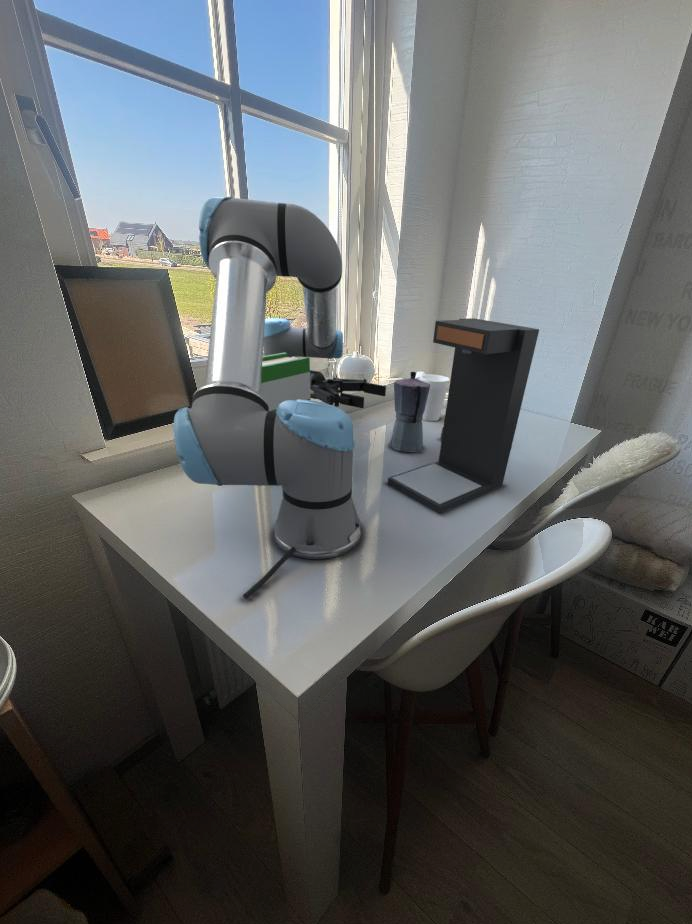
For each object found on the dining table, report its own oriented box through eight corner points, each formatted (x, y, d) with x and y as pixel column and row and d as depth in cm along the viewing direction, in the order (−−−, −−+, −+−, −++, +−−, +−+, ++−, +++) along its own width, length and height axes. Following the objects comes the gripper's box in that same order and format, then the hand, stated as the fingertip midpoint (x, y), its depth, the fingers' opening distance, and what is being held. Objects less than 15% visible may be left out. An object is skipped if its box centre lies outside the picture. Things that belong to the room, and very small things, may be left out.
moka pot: (416, 437, 122) (424, 366, 112) (432, 459, 109) (443, 381, 99) (384, 438, 120) (389, 365, 109) (397, 460, 107) (404, 380, 97)
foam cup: (411, 413, 141) (415, 374, 134) (436, 413, 144) (441, 374, 137) (422, 423, 133) (426, 381, 127) (448, 422, 136) (454, 381, 129)
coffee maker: (439, 513, 85) (468, 334, 68) (387, 483, 95) (400, 320, 78) (502, 485, 98) (539, 329, 81) (450, 462, 108) (473, 318, 91)
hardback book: (289, 451, 107) (284, 352, 95) (311, 458, 104) (309, 357, 92) (235, 474, 94) (221, 363, 82) (258, 483, 91) (248, 369, 79)
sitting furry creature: (431, 403, 154) (436, 369, 147) (431, 410, 146) (436, 375, 140) (406, 400, 154) (409, 367, 148) (404, 407, 147) (408, 372, 141)
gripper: (329, 387, 130) (392, 399, 123) (281, 407, 110) (352, 423, 104) (330, 362, 126) (394, 373, 120) (279, 378, 107) (353, 392, 100)
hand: (374, 396), depth 112 cm, fingers open, 13 cm apart
